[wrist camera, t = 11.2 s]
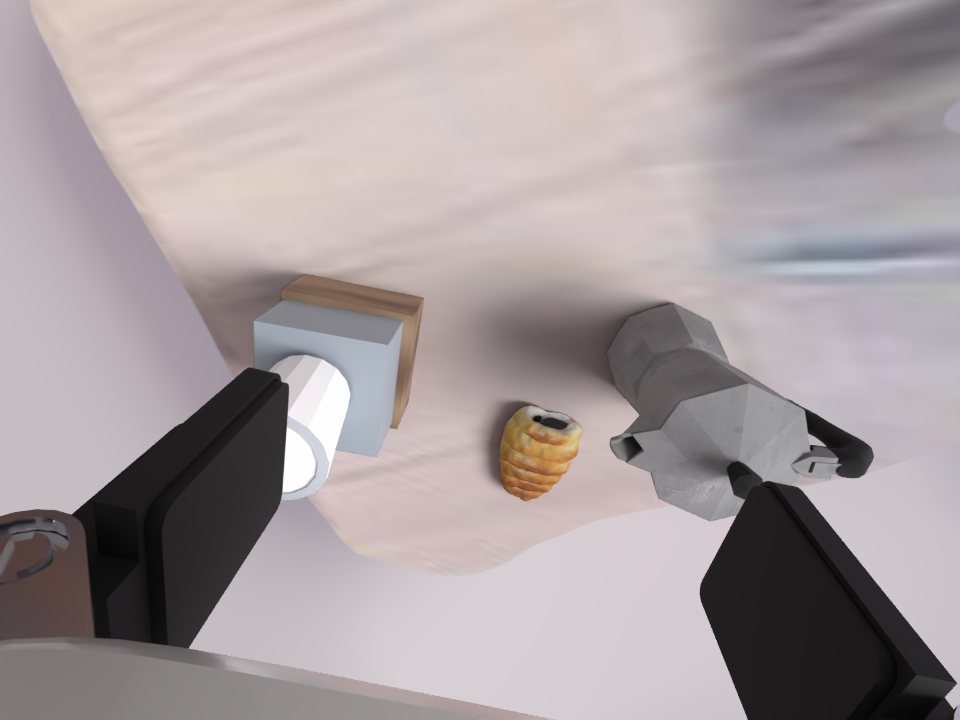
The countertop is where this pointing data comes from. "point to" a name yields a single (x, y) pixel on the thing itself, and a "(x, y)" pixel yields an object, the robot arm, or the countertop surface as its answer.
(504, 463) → the pastry
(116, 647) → the robot arm
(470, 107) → the countertop surface
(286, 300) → the grey top block
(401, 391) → the walnut base block
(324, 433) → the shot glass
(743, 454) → the coffeepot
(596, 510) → the countertop surface
